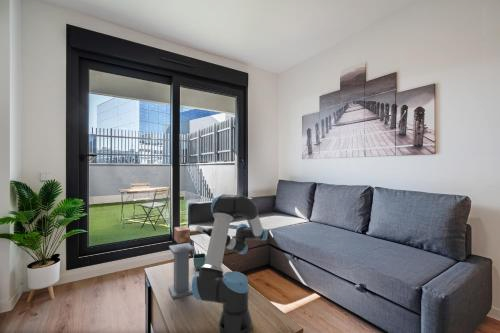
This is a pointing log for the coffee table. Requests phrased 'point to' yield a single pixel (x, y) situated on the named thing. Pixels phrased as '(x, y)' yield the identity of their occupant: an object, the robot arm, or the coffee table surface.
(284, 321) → the coffee table surface
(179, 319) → the coffee table surface
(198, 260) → the flower pot
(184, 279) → the plinth
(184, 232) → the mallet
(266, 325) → the coffee table surface
